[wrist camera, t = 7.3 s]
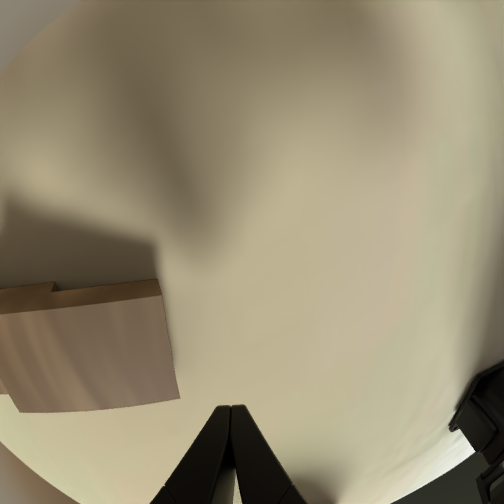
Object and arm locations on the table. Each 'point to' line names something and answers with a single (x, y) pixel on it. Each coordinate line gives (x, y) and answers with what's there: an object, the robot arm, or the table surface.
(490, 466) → the robot arm
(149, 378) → the domino
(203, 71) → the table surface
